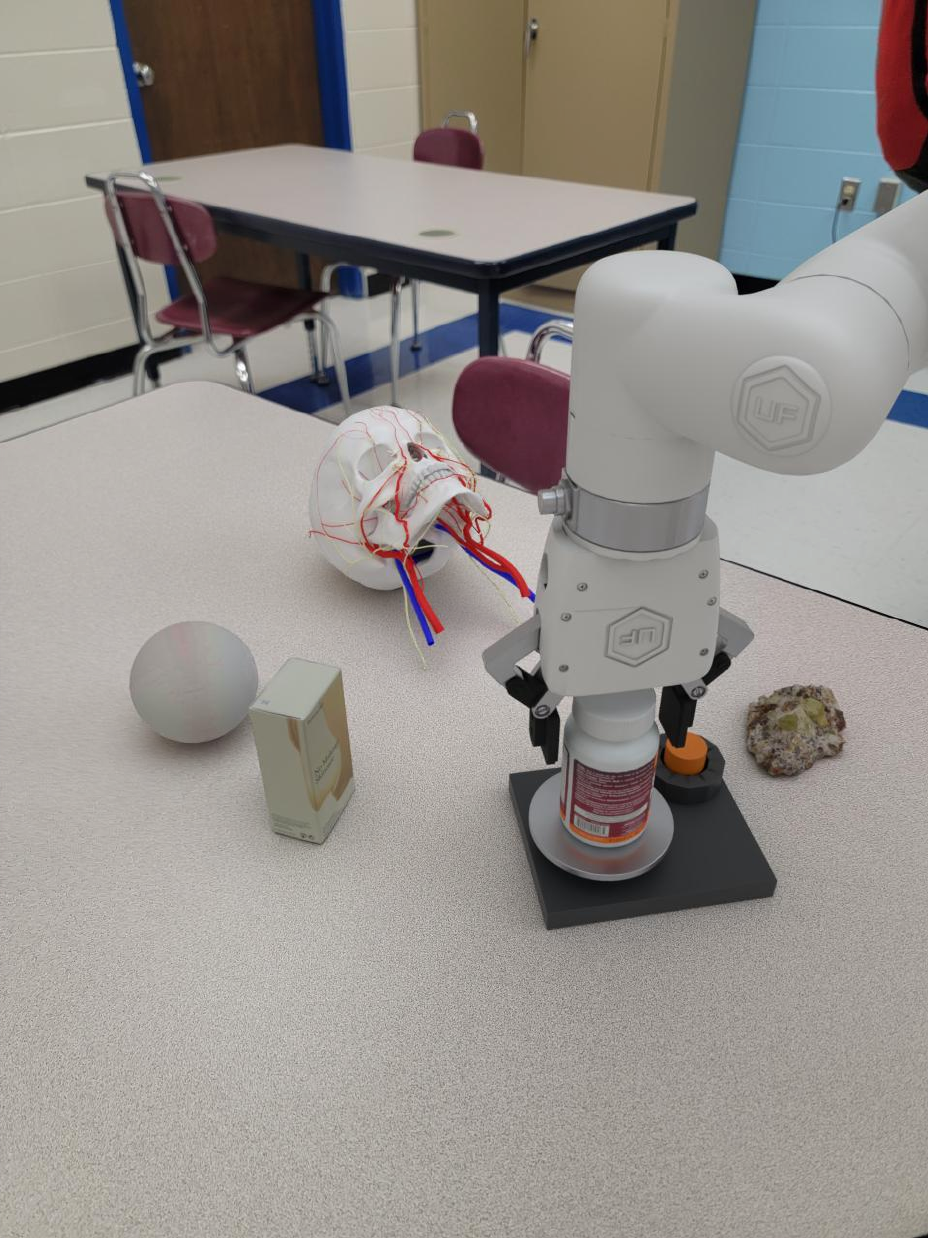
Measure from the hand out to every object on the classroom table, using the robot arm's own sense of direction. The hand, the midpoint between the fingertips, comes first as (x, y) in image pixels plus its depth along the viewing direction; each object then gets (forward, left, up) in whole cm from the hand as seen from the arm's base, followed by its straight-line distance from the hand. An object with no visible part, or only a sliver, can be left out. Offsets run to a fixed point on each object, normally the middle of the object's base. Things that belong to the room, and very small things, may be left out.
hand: (609, 740), depth 59 cm
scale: (-3, -1, -11) cm, 12 cm away
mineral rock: (-19, -9, -12) cm, 24 cm away
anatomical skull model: (+9, -35, -12) cm, 38 cm away
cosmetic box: (+20, -8, -12) cm, 24 cm away
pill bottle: (0, 0, -8) cm, 8 cm away
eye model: (+29, -19, -12) cm, 37 cm away
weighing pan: (0, 0, -8) cm, 8 cm away
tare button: (-8, -5, -8) cm, 13 cm away
